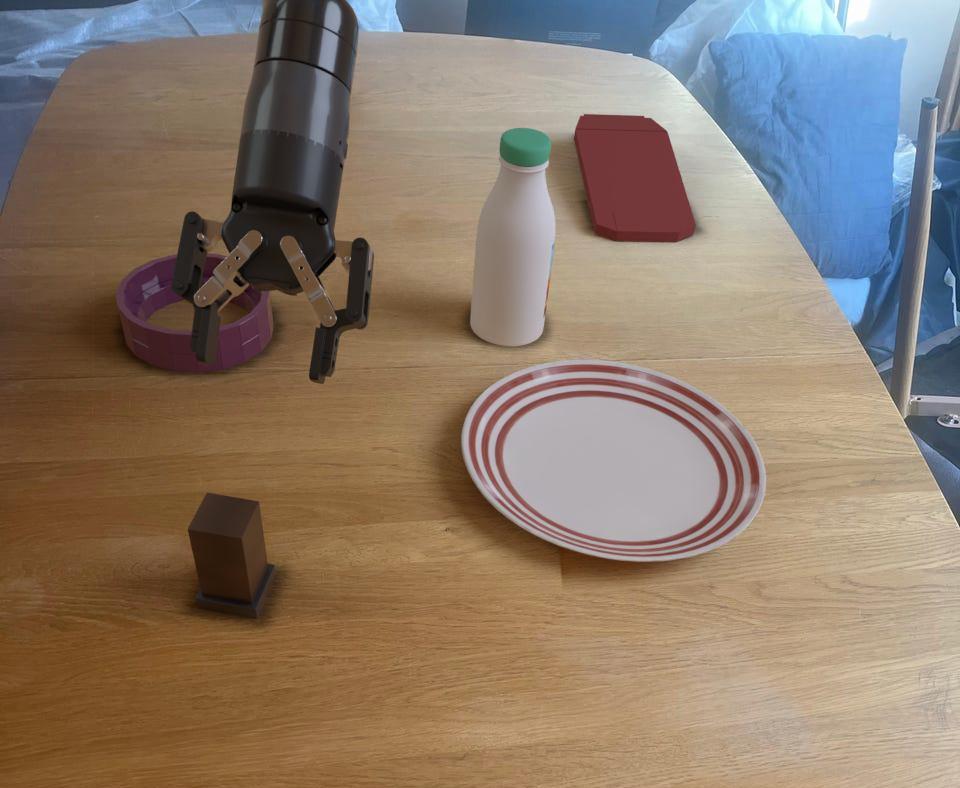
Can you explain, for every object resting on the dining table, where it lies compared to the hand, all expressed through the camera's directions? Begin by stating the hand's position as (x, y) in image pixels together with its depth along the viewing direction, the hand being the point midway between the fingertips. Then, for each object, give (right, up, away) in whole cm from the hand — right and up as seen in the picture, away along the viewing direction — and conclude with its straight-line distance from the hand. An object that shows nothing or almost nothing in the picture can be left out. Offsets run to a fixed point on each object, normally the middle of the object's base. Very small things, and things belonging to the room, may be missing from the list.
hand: (260, 372), depth 74 cm
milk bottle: (+19, +12, +31) cm, 38 cm away
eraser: (-3, -17, +5) cm, 17 cm away
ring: (-12, +11, +27) cm, 31 cm away
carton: (+35, +37, +53) cm, 73 cm away
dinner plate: (+28, -5, +17) cm, 33 cm away
